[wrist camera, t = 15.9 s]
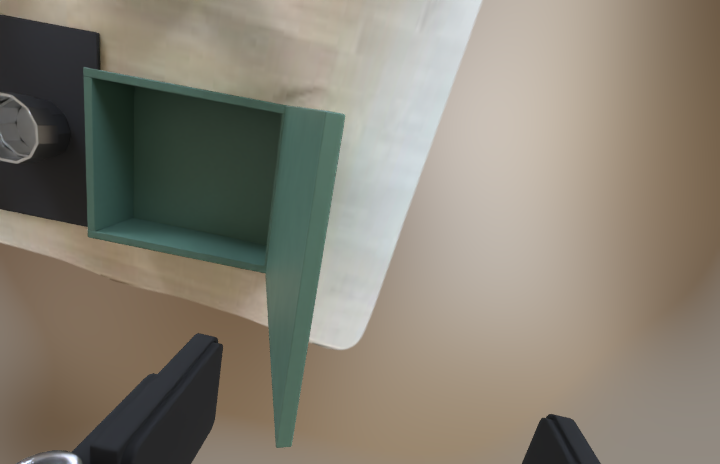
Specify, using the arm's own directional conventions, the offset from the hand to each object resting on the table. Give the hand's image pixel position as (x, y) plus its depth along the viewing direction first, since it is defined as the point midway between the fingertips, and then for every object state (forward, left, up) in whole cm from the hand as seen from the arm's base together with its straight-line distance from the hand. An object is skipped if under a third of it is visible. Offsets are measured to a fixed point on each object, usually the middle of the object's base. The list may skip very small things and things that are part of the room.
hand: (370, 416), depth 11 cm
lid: (0, -7, -16) cm, 17 cm away
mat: (-1, -40, -33) cm, 52 cm away
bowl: (-1, -40, -32) cm, 51 cm away
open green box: (0, -20, -33) cm, 38 cm away
